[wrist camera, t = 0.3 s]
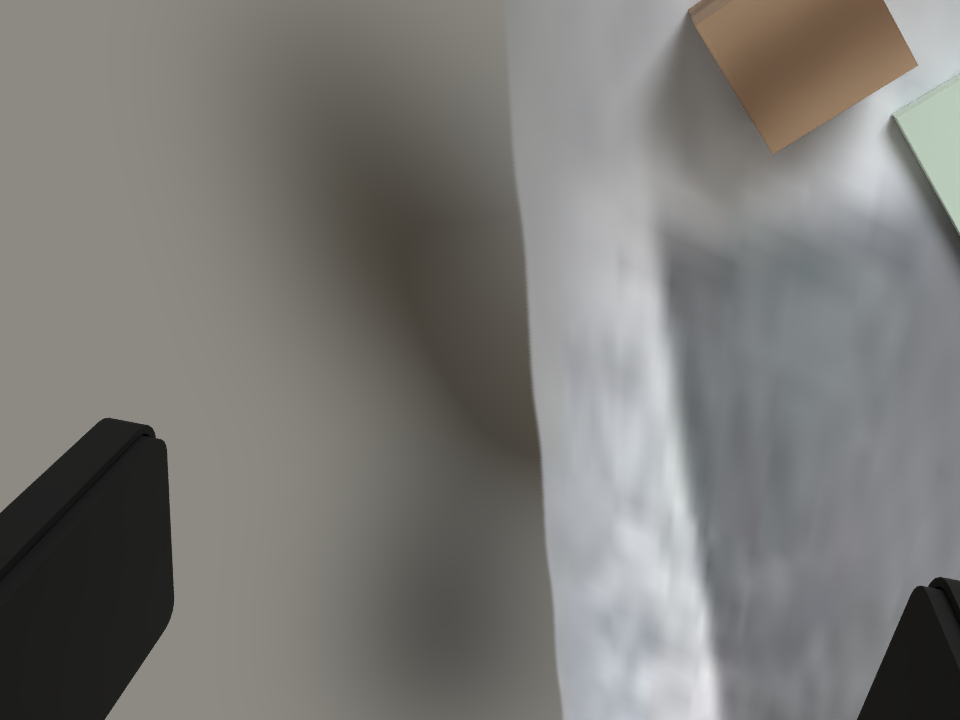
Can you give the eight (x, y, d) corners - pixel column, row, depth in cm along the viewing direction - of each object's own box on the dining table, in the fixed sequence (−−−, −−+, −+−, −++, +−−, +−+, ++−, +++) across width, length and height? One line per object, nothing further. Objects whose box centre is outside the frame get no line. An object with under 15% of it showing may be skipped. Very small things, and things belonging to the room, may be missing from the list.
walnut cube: (687, 9, 40) (694, 26, 35) (814, -80, 38) (842, -77, 33) (756, 122, 42) (772, 154, 37) (881, 42, 40) (918, 65, 34)
